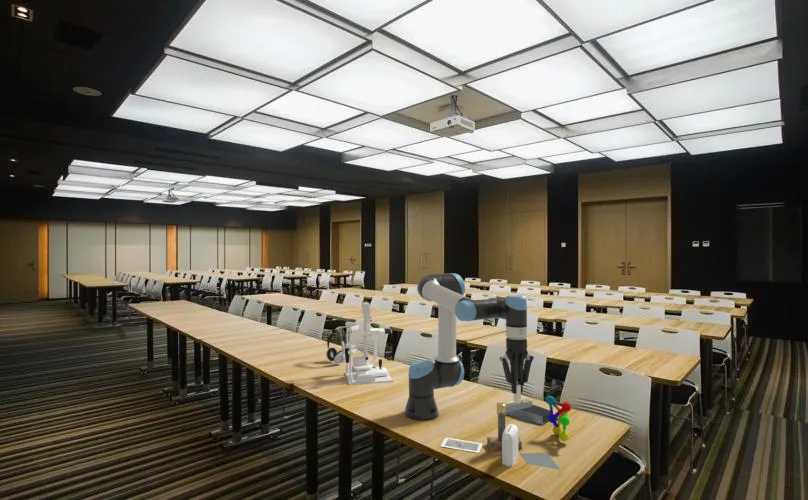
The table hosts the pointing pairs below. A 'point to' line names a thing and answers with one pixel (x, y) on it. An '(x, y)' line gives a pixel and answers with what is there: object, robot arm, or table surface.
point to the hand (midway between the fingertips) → (517, 401)
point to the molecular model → (562, 417)
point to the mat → (540, 460)
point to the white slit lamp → (365, 354)
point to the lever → (512, 406)
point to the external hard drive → (531, 414)
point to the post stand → (499, 436)
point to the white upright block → (510, 445)
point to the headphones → (332, 353)
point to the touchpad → (461, 445)
